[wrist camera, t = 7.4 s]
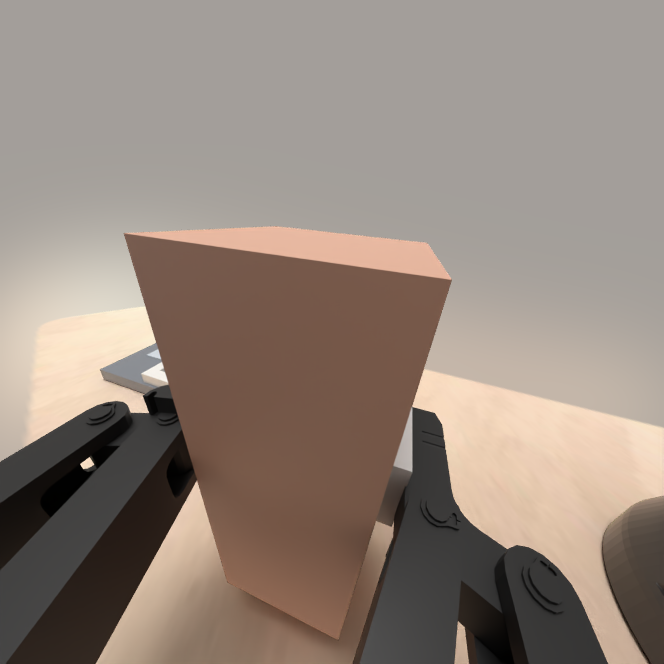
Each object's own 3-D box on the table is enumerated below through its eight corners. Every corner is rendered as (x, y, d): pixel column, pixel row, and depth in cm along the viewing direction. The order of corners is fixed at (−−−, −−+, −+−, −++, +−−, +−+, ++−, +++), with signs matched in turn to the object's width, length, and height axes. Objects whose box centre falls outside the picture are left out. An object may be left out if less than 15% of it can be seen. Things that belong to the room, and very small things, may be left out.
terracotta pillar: (362, 504, 13) (427, 242, 7) (338, 640, 9) (451, 280, 3) (282, 474, 14) (276, 226, 8) (227, 582, 10) (123, 233, 4)
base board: (324, 374, 28) (326, 358, 27) (285, 443, 19) (285, 424, 18) (186, 337, 32) (183, 322, 31) (104, 379, 23) (96, 361, 22)
